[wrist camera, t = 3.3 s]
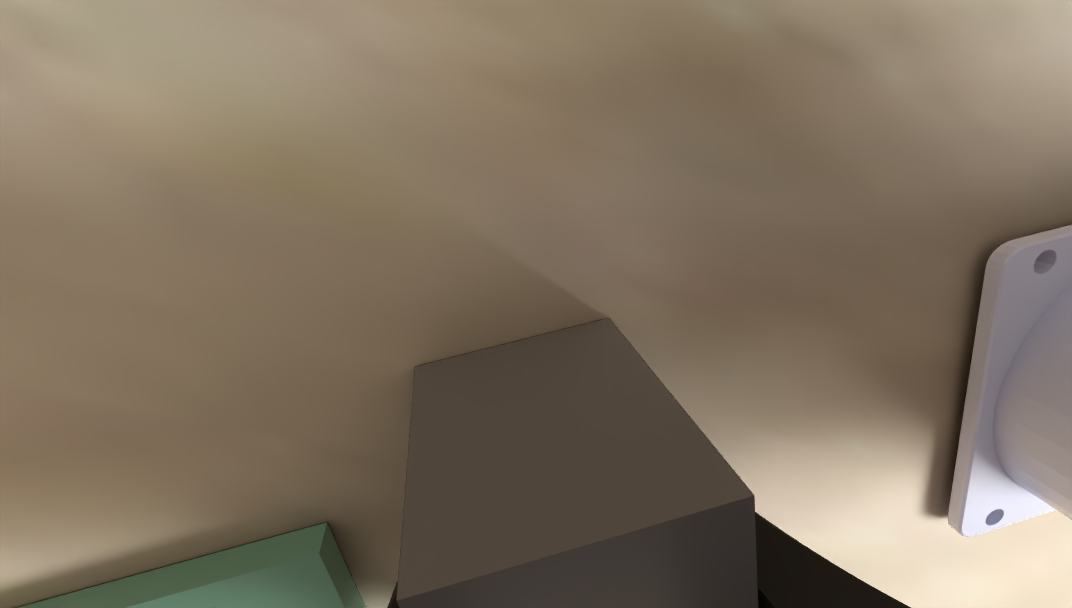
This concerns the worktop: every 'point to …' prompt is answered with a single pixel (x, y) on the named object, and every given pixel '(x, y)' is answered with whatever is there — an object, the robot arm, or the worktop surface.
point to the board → (236, 579)
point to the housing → (567, 485)
